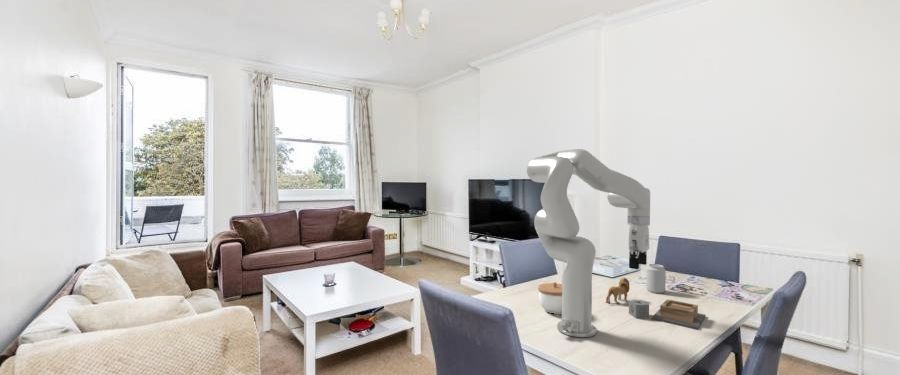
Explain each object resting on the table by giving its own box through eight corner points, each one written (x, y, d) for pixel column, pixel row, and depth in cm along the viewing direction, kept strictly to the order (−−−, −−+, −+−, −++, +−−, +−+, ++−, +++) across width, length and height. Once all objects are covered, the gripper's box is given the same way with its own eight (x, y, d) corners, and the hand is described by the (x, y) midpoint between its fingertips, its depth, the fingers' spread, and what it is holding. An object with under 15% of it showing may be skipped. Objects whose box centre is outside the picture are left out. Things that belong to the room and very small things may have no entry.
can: (642, 290, 171) (643, 264, 171) (653, 288, 174) (654, 262, 174) (657, 294, 164) (658, 267, 164) (669, 292, 167) (669, 266, 167)
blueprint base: (697, 329, 126) (697, 316, 126) (651, 319, 136) (651, 306, 136) (705, 316, 138) (705, 304, 138) (663, 307, 148) (663, 296, 147)
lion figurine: (620, 296, 162) (620, 275, 162) (632, 299, 158) (632, 278, 158) (602, 303, 153) (603, 281, 153) (615, 307, 149) (615, 284, 148)
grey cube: (641, 313, 142) (641, 300, 142) (649, 318, 137) (649, 304, 137) (628, 313, 142) (628, 300, 142) (635, 318, 137) (635, 304, 137)
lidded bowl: (548, 318, 137) (548, 288, 136) (532, 307, 149) (532, 279, 148) (578, 315, 140) (579, 285, 140) (560, 304, 152) (560, 277, 152)
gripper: (642, 223, 130) (642, 272, 131) (655, 219, 143) (655, 264, 144) (620, 221, 135) (619, 268, 136) (634, 218, 148) (634, 261, 149)
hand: (637, 266), depth 140 cm, fingers open, 9 cm apart
